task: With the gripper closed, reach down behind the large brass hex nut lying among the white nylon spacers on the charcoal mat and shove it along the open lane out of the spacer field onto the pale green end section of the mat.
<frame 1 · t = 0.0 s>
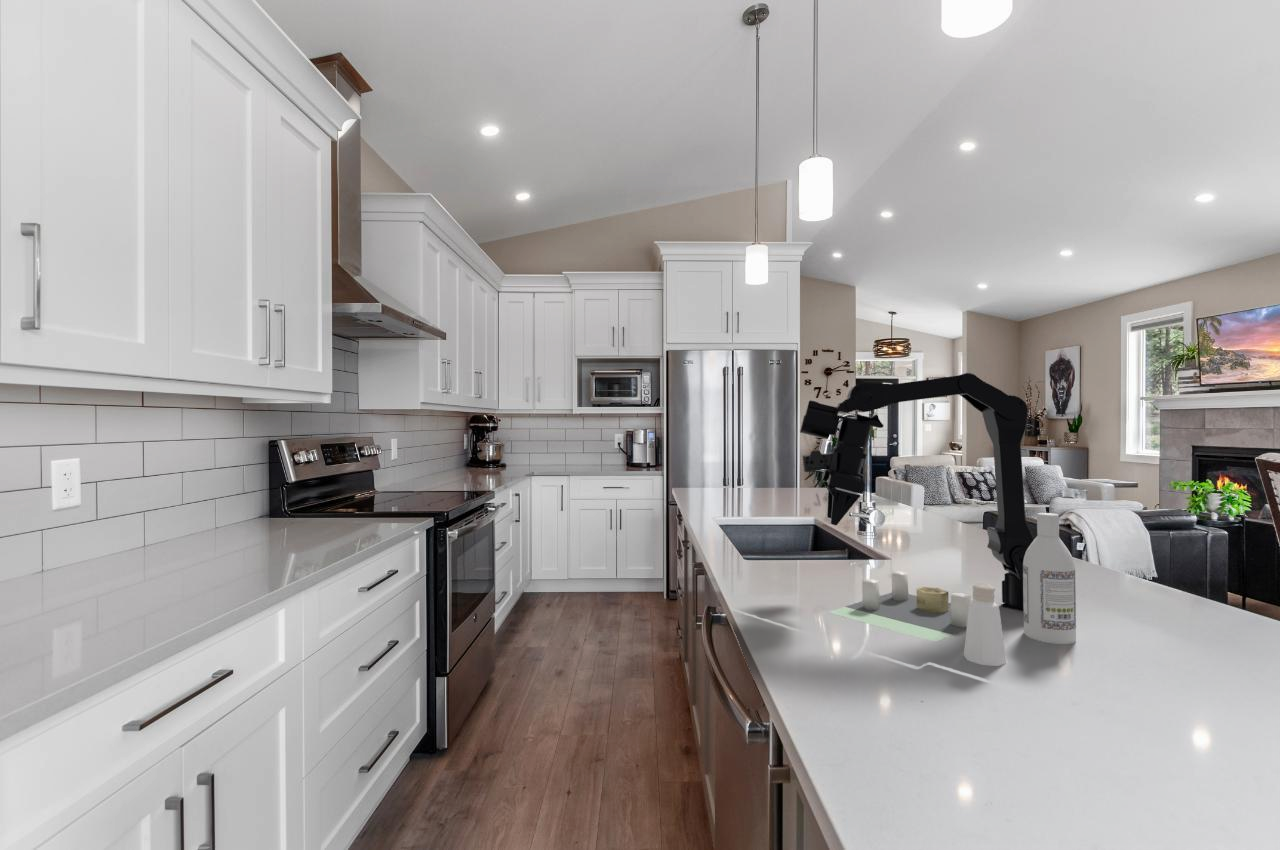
hand: (831, 521, 122), 15 cm above the countertop, tool pointing down, fingers open, 9 cm apart
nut: (932, 609, 113), resting on mat
pepper shaker: (984, 663, 89), on the countertop
mat: (913, 615, 111), on the countertop
spacer a: (982, 615, 109), resting on mat
spacer b: (900, 598, 120), resting on mat
spacer d: (871, 607, 114), resting on mat
bath foam: (1049, 640, 98), on the countertop
spacer c: (960, 624, 104), resting on mat
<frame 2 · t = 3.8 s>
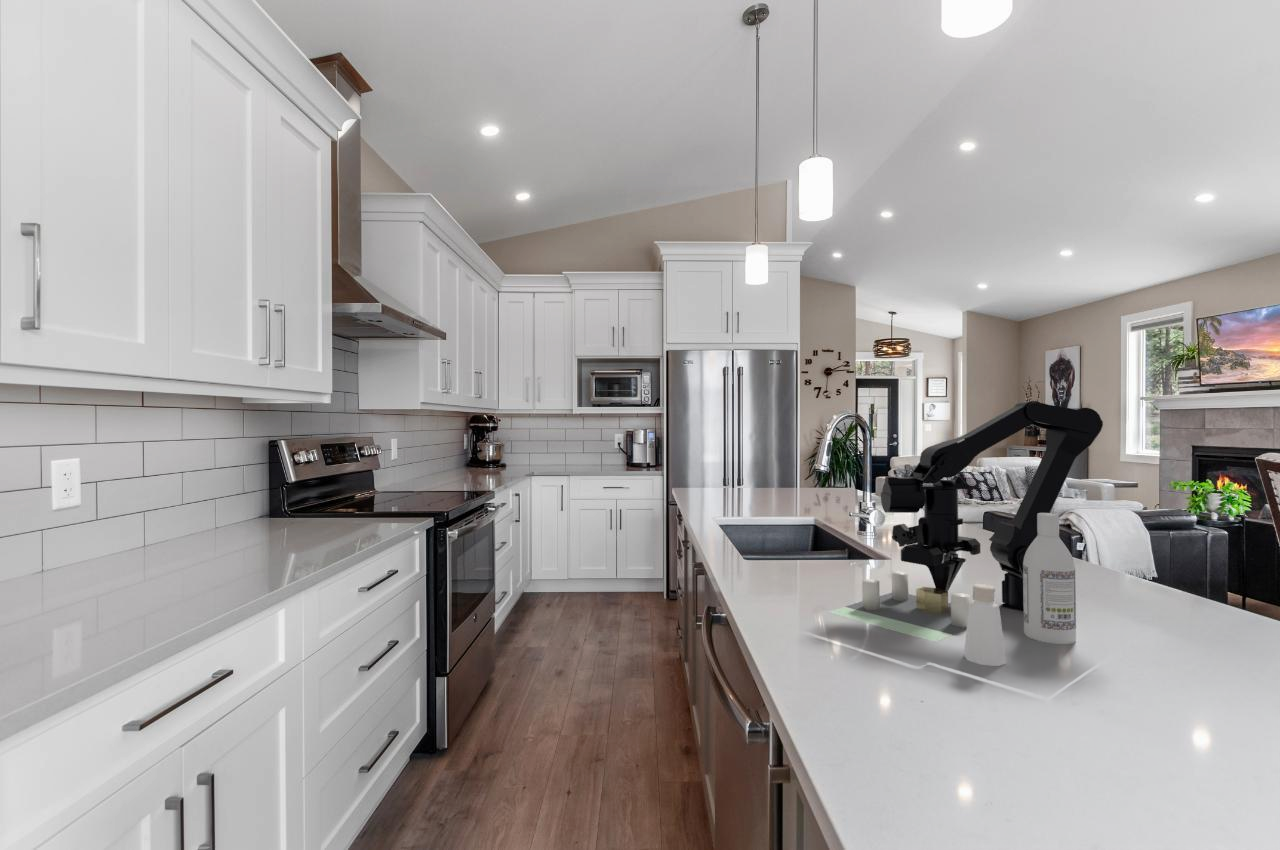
hand: (941, 595, 115), 2 cm above the countertop, tool pointing down, fingers closed
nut: (932, 609, 113), resting on mat, touching gripper
everything else where it was.
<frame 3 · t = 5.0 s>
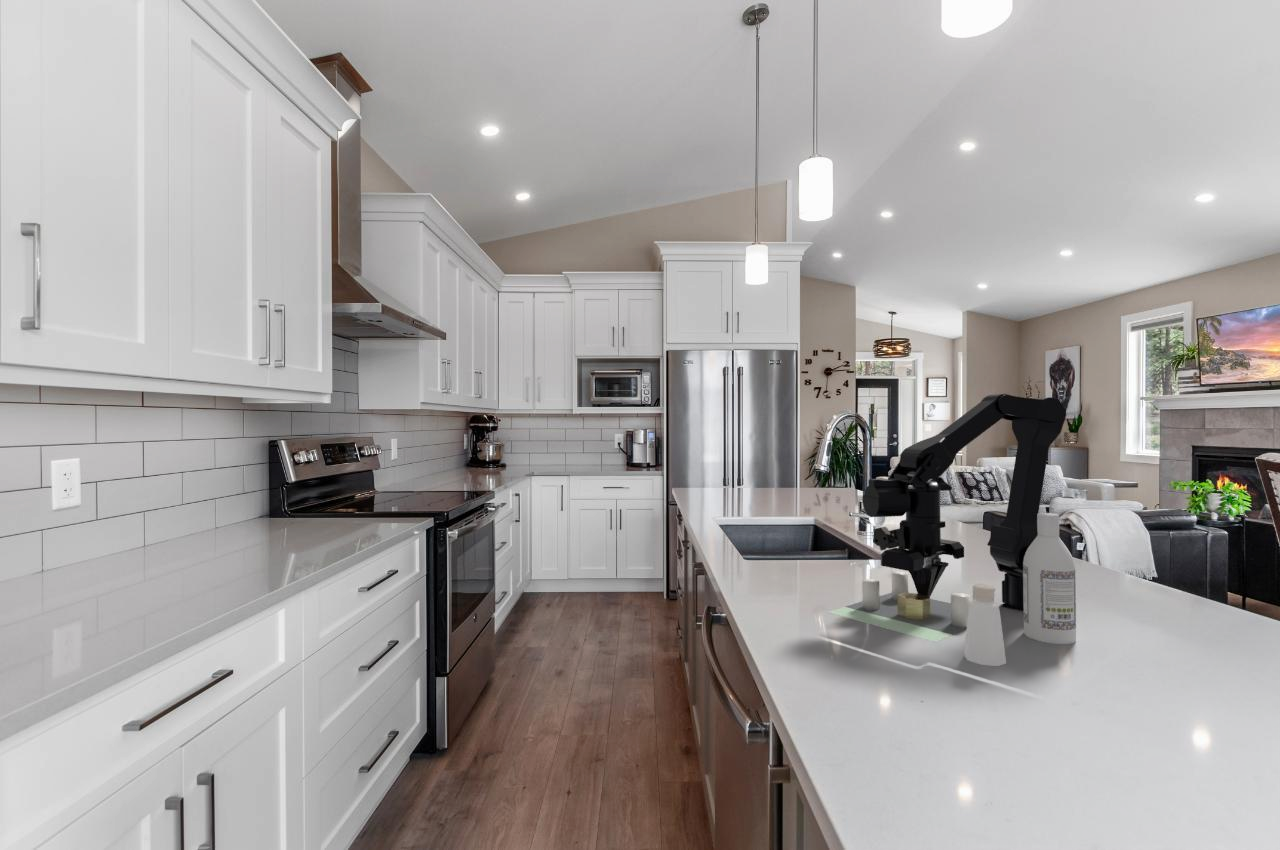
hand: (924, 601, 111), 2 cm above the countertop, tool pointing down, fingers closed
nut: (913, 616, 109), resting on mat, touching gripper
everything else where it was.
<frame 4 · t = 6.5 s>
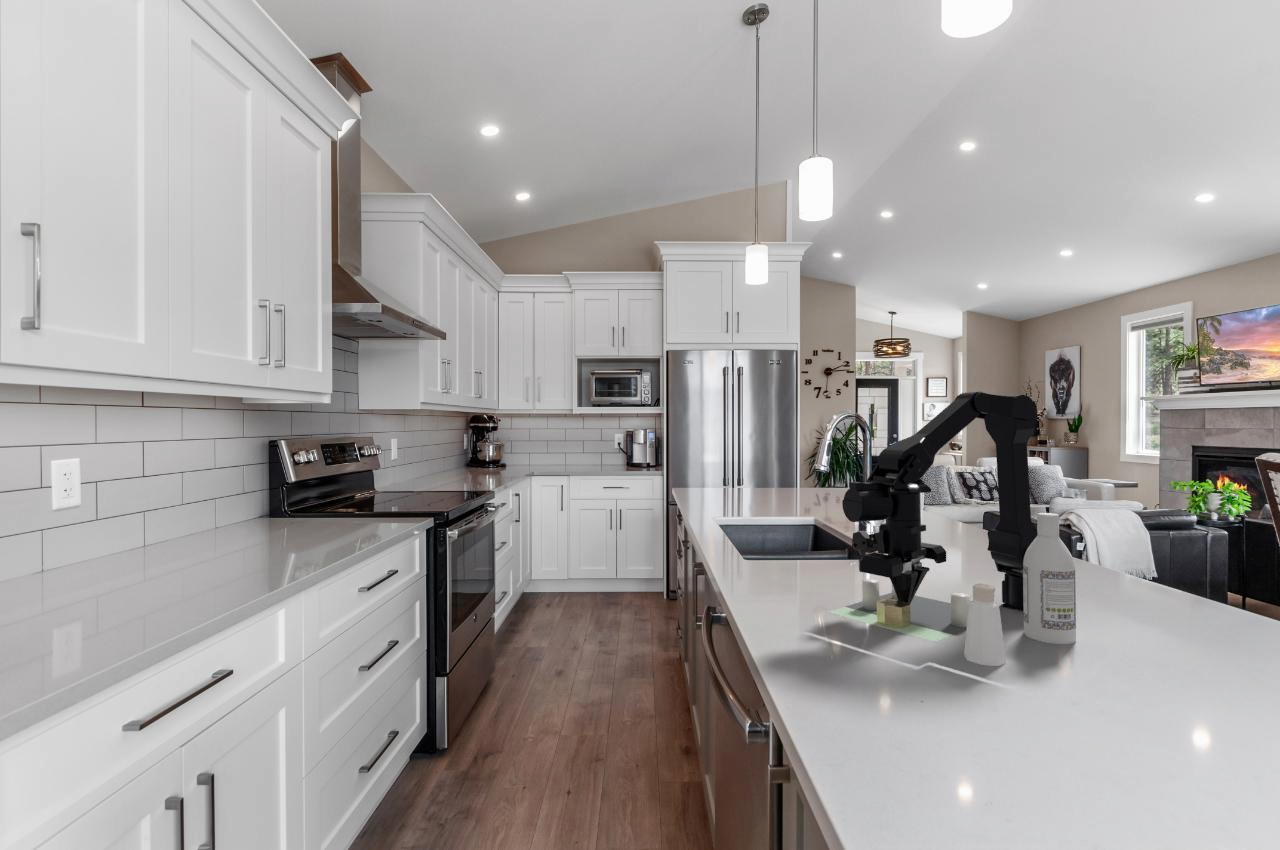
hand: (904, 607, 107), 2 cm above the countertop, tool pointing down, fingers closed
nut: (893, 623, 105), resting on mat, touching gripper
everything else where it was.
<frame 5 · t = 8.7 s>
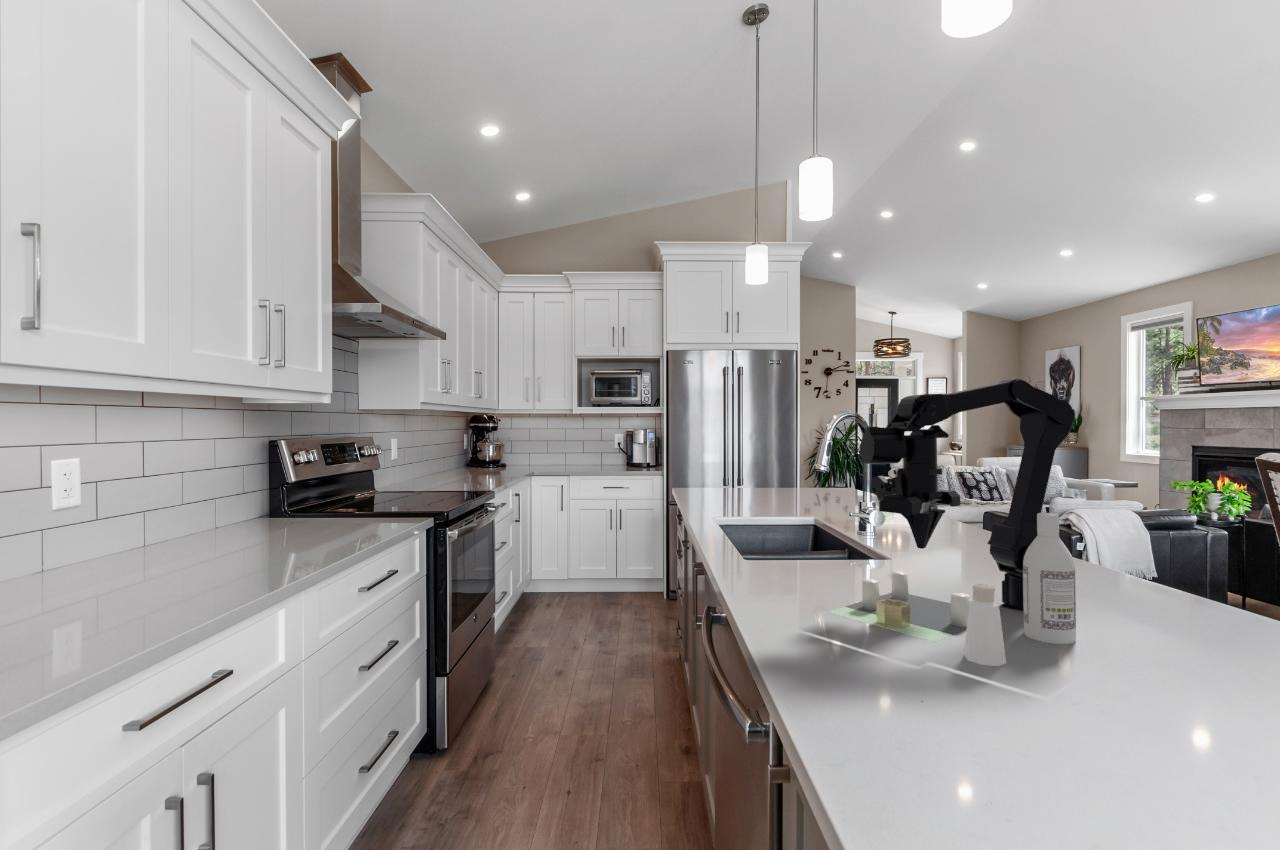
hand: (921, 548, 112), 12 cm above the countertop, tool pointing down, fingers closed
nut: (893, 623, 105), resting on mat
everything else where it was.
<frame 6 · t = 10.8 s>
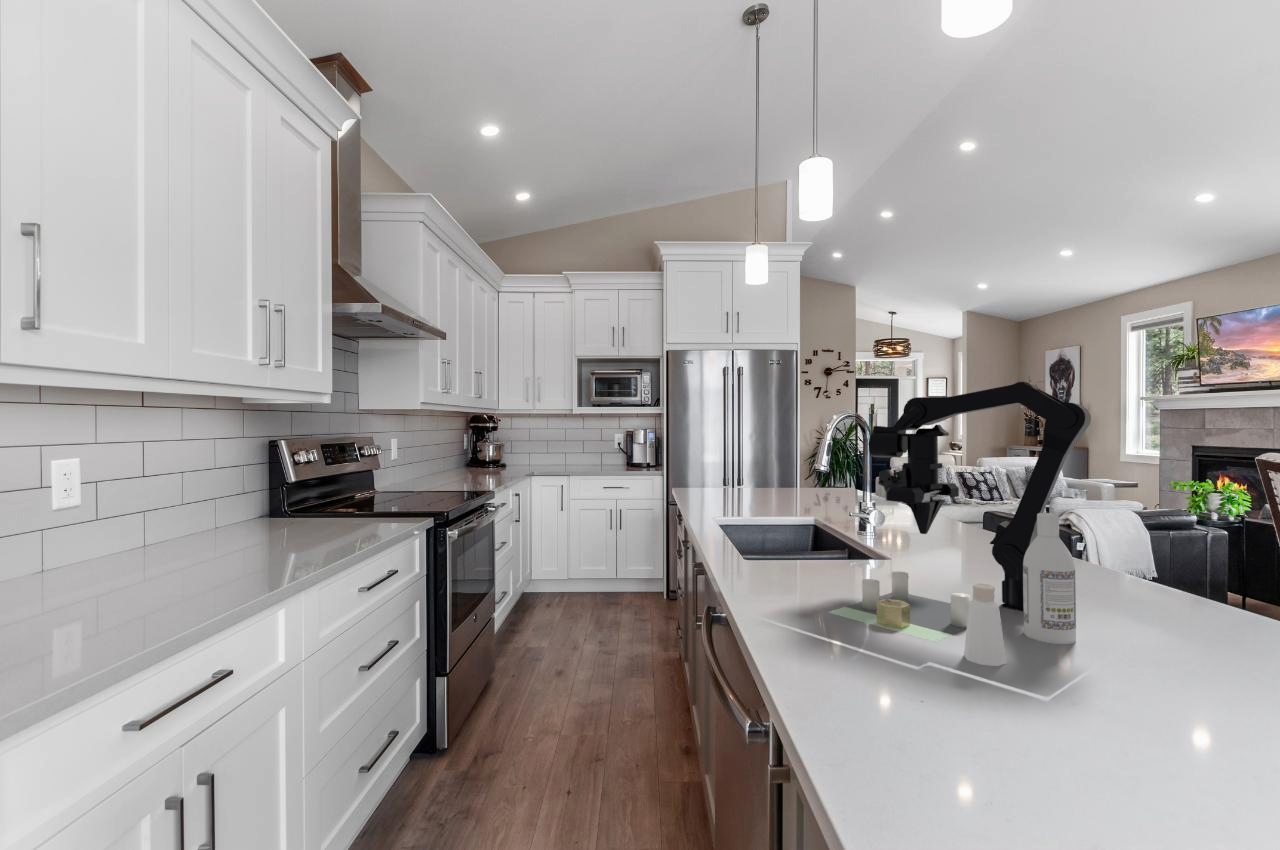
hand: (923, 533, 127), 12 cm above the countertop, tool pointing down, fingers closed
nothing on the countertop moved.
at the end: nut inside the target area (0.9 cm from its centre), resting on mat; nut moved 13.3 cm from its start; the gripper is holding nothing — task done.
